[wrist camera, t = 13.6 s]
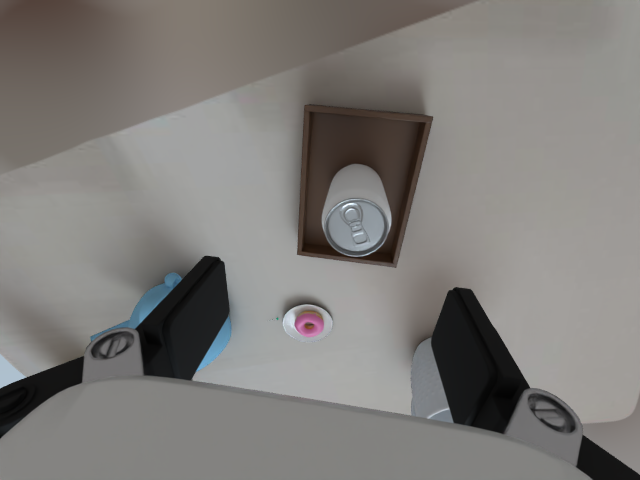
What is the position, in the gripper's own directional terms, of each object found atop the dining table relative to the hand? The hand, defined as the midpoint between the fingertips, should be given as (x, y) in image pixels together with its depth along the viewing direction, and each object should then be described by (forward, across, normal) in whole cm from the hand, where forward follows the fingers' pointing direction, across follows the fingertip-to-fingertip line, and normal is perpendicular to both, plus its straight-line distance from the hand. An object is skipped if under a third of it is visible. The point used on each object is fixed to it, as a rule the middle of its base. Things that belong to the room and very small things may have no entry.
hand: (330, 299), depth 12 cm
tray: (+26, -1, +3) cm, 26 cm away
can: (+25, -1, +3) cm, 25 cm away
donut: (+26, +5, +27) cm, 37 cm away
